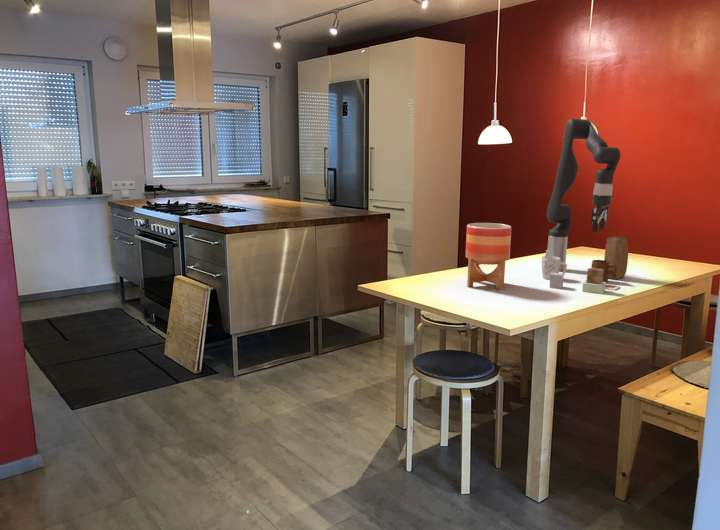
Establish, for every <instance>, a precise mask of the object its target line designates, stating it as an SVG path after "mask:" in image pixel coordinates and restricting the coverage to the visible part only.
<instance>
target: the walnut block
mask: <svg viewBox="0 0 720 530" xmlns="http://www.w3.org/2000/svg"><path fill="white" fill-rule="evenodd" d="M603 271H604V269H599V268H591V267H589V268H587V272H586V274H587V275H586V280H587V282H586V283H591V284H601V283H602V282H603Z"/></svg>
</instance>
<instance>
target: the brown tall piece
mask: <svg viewBox="0 0 720 530" xmlns="http://www.w3.org/2000/svg"><path fill="white" fill-rule="evenodd" d="M628 246H629V245H628V237H626V236H619V235H615V236H610V237H607V238H606V245H605V250H604V259H603V260H605V261H609V264H615V265H616V266H617V268H618V270H617V272H616V273H615V274H610V275H608V280H609V279H610V280H621V279H623V278H624V277H625V275H626V273H627V270H628V262H629V247H628ZM613 270H614V267H610V268H609V271H613Z"/></svg>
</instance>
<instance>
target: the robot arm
mask: <svg viewBox="0 0 720 530" xmlns="http://www.w3.org/2000/svg"><path fill="white" fill-rule="evenodd" d="M574 140H585V146H586V148H587V150H588V151H589V152H590V153H591V154H592V156H593V160H594V162H595V163H598V164H600V165H602V164H603V165H605V164H606V166H605V168H602V169H598V170H596V173H595V181H594V187H593V193H592V202H591V203H592V205H594V206H595V207H593V208H592V209H591V217H590V222H591V223H592V229H591V231H592V232H594V233H597V232H598V231H600V230H602V231H603V230H605V229H606V222H607V221H608V219H609V214H610V213H609V211H610V205H612V196H613V195H612V194H613V184H614V183H613V182H614V175H615V172H616V171H617V170H616V169H617V167H618V164H619V162H620V160H621V155H622V154H621V150H620V149H619V148H618V147H615V146H611V147H610V146H609V145H608V143H607V142H606V140H604V139H603V138H602V137H600V134H598V132H597V130H596V128H595V127H594V125H593V124H592V123H591V121H590V120H588V119H584V118H583V119H582V118H570V119H568V120H567V122H566V124H565V128H564V134H563V141H562V148H561V153H560V154H561V155H560V158H559V159H560V160H559V161H558V162H559V163H558V167H557V171H556V175H555V176H556V177H555V181H554V185H553V191H552V194H551V197H550V199H549V202H548V206H547V210H546V219H547V221H548V222H549V223H551V224H556V225H555V226H554V227H553V228H551V229H549V231H548V240H547V249H546V250H545V256H553V257H559V258H561V262H564V263H566V264H567V253H568V252H567V250H568V237H569V232H570V230H571V223H572V217H573V216H572V214H573V213H572V208H571V206H570V205H569V204H566V203H565V204H563V203H562V201H563V198H564V196H566V194H567V192H568V191H569V190H570V189H571V188H572V187H573V185H574V184H575V182H576V180H577V176H578V172H579V171H578V170H579V163H578V161H577V158H576V156H575V153H574V148H573V147H574V146H573V143H574ZM563 270H564V265H560V267H559V272H561V271H562V272H563Z"/></svg>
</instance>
